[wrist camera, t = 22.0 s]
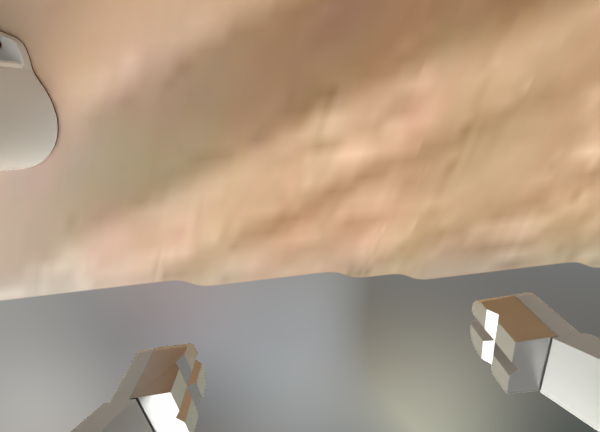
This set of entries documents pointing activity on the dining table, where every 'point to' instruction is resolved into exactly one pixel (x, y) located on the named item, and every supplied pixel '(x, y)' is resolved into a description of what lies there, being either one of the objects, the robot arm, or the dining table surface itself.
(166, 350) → the robot arm
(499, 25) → the dining table surface
